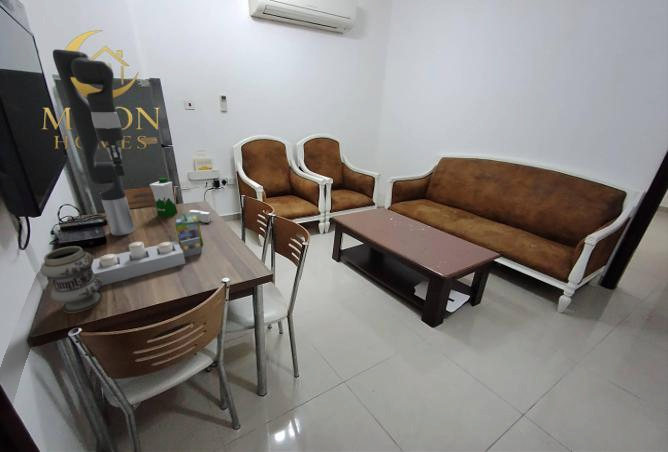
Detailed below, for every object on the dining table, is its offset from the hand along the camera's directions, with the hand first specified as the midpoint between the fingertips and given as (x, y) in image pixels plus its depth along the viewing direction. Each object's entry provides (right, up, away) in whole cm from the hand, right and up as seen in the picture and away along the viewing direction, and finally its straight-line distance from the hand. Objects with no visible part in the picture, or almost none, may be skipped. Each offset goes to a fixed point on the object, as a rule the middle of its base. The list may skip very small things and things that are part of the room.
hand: (121, 175), depth 107 cm
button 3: (+13, -30, +8) cm, 34 cm away
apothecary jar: (0, -43, -16) cm, 46 cm away
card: (+20, -31, +14) cm, 39 cm away
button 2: (+6, -30, +2) cm, 31 cm away
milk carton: (-14, -13, +54) cm, 57 cm away
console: (+5, -35, +4) cm, 35 cm away
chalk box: (+15, -26, +24) cm, 38 cm away
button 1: (-2, -34, -2) cm, 34 cm away
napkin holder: (+8, -17, +47) cm, 51 cm away
